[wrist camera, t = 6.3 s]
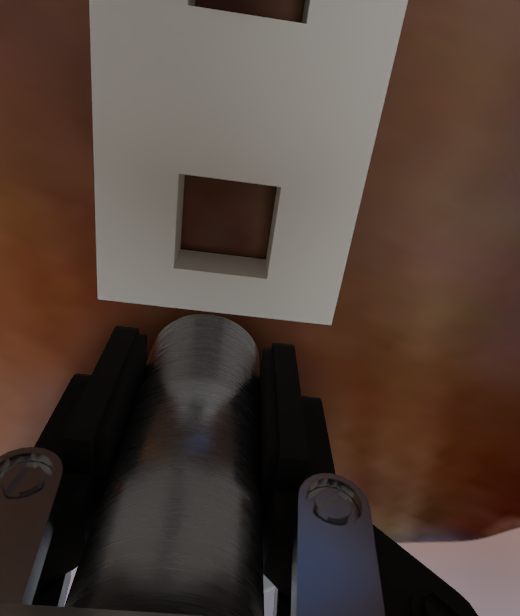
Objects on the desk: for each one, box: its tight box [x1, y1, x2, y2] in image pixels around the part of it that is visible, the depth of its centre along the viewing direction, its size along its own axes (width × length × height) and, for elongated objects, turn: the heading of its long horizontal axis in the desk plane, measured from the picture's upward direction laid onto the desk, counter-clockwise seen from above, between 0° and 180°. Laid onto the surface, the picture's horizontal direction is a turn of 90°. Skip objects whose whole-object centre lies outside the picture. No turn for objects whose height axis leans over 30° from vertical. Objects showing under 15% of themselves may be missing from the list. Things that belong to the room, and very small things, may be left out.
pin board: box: [89, 0, 408, 325], centre depth 19 cm, size 20×12×8 cm, turn 172°
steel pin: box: [64, 314, 264, 616], centre depth 10 cm, size 3×3×8 cm
